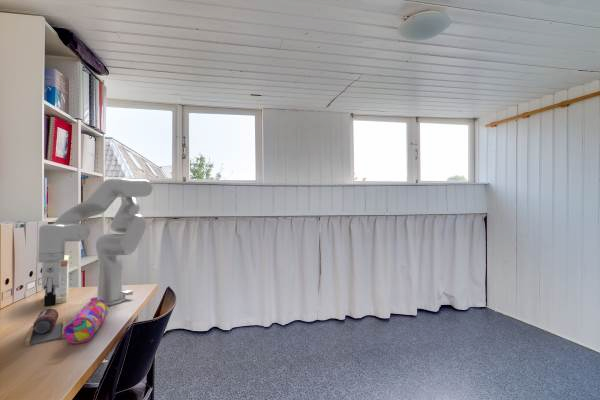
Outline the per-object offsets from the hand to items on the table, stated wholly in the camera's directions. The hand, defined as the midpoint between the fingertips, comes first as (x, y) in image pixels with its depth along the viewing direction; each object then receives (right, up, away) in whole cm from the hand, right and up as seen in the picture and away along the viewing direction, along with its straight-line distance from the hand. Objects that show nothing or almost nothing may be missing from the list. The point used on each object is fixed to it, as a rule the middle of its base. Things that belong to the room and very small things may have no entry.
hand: (49, 305), depth 107 cm
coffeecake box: (-21, -7, +28) cm, 35 cm away
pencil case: (+18, -8, -5) cm, 20 cm away
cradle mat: (+6, -7, -7) cm, 12 cm away
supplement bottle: (0, -4, 0) cm, 4 cm away
